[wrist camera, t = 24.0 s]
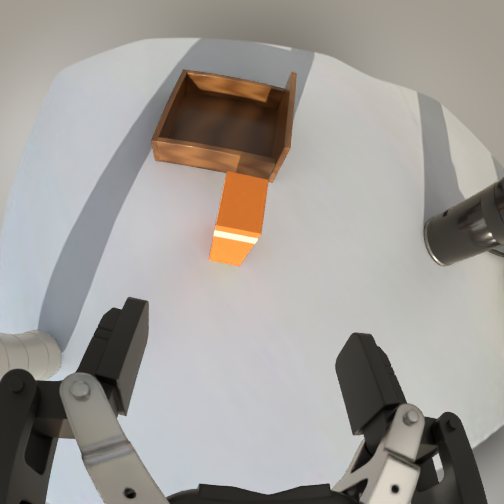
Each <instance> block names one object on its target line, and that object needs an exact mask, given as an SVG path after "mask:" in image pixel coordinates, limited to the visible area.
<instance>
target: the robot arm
mask: <svg viewBox="0 0 504 504" xmlns="http://www.w3.org/2000/svg"><path fill="white" fill-rule="evenodd" d="M424 239H425V244H426V247H427V250H428V252H429V254H430V256H431V257H432V259H433V260H434V261H435V262H436V263H437V264H439V265H441V266H448V265H451V264H453V263H456V262H458V261H462V260H464V259H467V258H470V257H473V256H475V255H478V254H481V253H484V252H486V251H489V252H491V253H493V254H496V255H498V256H501V257H504V253H502V252H499V251H497V250H494V248H497V247H499V246H502V245H504V177H503V178H502V179H500V180H498V181H497V182H495V183H493V184H492V185H490V186H488V187H487V188H485V189H483V190H482V191H480V192H478V193H477V194H475V195H473V196H471V197H470V198H468V199H466V200H465V201H463V202H461V203H459V204H457V205H456V206H454V207H452V208H450V209H449V210H448V209H447V211H445V212H443V213H441V214H439V215H438V216H436V217H433V218H431V219H429V220H428V221H427V223H426V225H425V229H424ZM148 330H149V303H148V301H146V300H141V299H136V298H132V297H128V298H127V300H126V302H125V304H124V307H123V309H117V308H112V309H111V310H109V311H108V312H107V313H106V314H104V315H103V317H102V319H101V321H100V323H99V325H98V328H97V329H96V331H95V333H94V336H93V337H92V339H91V341H90V343H89V345H88V348H87V350H86V352H85V354H84V356H83V358H82V361H81V363H80V365H79V367H78V369H77V371H76V372H75V373H73V374H70V375H69V376H67V377H66V378H65V379H64V380H62V381H41V380H35V379H34V377H33V375H32V374H31V373H30V372H28V371H26V370H24V369H19V368H18V369H12V370H10V371H8V372H7V373H6V374H5V375H4V376H3V377H2V379H1V381H0V504H45V501H46V495H47V489H48V483H49V478H50V473H51V468H52V463H53V459H54V454H55V450H56V446H57V442H58V438H70V439H76V441H77V444H78V446H79V448H80V451H81V454H82V460H83V463H84V465H85V467H86V470H87V472H88V474H89V476H90V478H91V480H92V482H93V484H94V486H95V487H96V489H97V491H98V493H99V495H100V497H101V498H102V500H103V502H104V504H410V503H411V504H487V499H486V495H485V491H484V488H483V484H482V481H481V478H480V474H479V471H478V467H477V464H476V461H475V458H474V455H473V452H472V449H471V446H470V443H469V441H468V438H467V435H466V433H465V430H464V427H463V425H462V422H461V420H460V419H459V417H458V416H457V415H455V414H454V413H451V412H445V413H443V414H442V415H441V416H440V417H439V418H438V419H435V418H430V417H424V415H423V413H422V412H421V410H420V409H419V408H417V407H416V406H415V405H412V404H408V403H407V402H406V399H405V397H404V394H403V392H402V389H401V387H400V385H399V382H398V380H397V377H396V375H394V370H393V368H392V367H391V364H390V361H389V359H388V357H387V355H386V354H385V353H384V352H383V350H382V349H381V348H380V347H379V346H377V345H376V343H375V340H374V338H373V336H372V335H371V334H366V333H352V334H351V336H350V337H349V339H348V341H347V342H346V344H345V345H344V347H343V349H342V350H341V352H340V353H339V355H338V357H337V359H336V364H335V369H336V373H337V377H338V381H339V384H340V388H341V391H342V395H343V399H344V403H345V406H346V410H347V414H348V418H349V422H350V426H351V429H352V433H353V435H362V434H364V439H363V440H362V441H361V443H360V445H359V447H358V449H357V451H356V453H355V455H354V457H353V459H352V461H351V463H350V465H349V467H348V469H347V471H346V472H345V474H344V476H343V477H342V478H341V479H340V480H339V481H338V482H337V483H336V485H335V486H334V487H333V488H332V490H330V484H320V485H309V486H299V487H296V488H293V489H289V490H286V491H282V492H279V493H275V494H270V495H267V494H261V493H257V492H253V491H249V490H245V489H241V488H237V487H232V486H218V485H208V484H199V486H198V488H197V489H191V490H186V491H181V492H178V493H175V494H172V495H170V496H168V497H165V496H164V495H163V493H162V492H161V490H160V489H159V487H158V486H157V484H156V483H155V481H154V480H153V478H152V477H151V475H150V474H149V472H148V471H147V469H146V467H145V466H144V464H143V462H142V461H141V459H140V458H139V456H138V454H137V452H136V451H135V449H134V447H133V446H132V444H131V443H130V441H128V439H127V438H126V436H125V434H124V432H123V430H122V428H121V426H120V424H119V422H118V420H117V416H118V414H120V415H124V416H126V415H127V411H128V407H129V403H130V400H131V396H132V392H133V389H134V385H135V381H136V378H137V374H138V371H139V367H140V364H141V361H142V357H143V354H144V351H145V347H146V344H147V339H148ZM438 453H439V456H440V459H441V462H442V466H443V469H444V478H443V480H442V481H441V482H440V483H439V481H438V478H437V474H436V470H435V466H434V463H433V459H432V457H433V456H435V455H436V454H438Z"/></svg>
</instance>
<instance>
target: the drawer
mask: <svg viewBox="0 0 504 504" xmlns="http://www.w3.org/2000/svg"><path fill="white" fill-rule="evenodd" d="M296 74H297V73H294V72H291V75H290V77H289V80H288V82H287V85H286V87H285V89H283V88H279V87H275V86H271V85H267V84H263V83H259V82H254V81H249V80H245V79H240V78H235V77H229V76H224V75H218V74H212V73H205V72H198V71H191V70H183V71H182V73H181V75H180V77H179V79H178V81H177V83H176V85H175V87H174V90H173V92H172V94H171V96H170V98H169V100H168V103H167V105H166V107H165V109H164V112H163V114H162V116H161V118H160V121H159V123H158V126H157V128H156V130H155V133H154V135H153V138H152V140H151V142H152V147H153V153H154V158H155V161H162V162H168V163H174V164H181V165H186V166H192V167H198V168H203V169H209V170H214V171H219V172H224V173H227V171H229V172H234V173H239V174H244V175H249V176H253V177H258V178H262V179H267V180H268V182H271V183H272V182H273V180H274V178H275V177H276V175H277V173H278V171H279V169H280V167H281V165H282V163H283V161H284V160H285V158H286V156H287V154H288V152H289V150H290V147H291V136H292V125H293V113H294V101H295V88H296Z"/></svg>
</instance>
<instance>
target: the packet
mask: <svg viewBox="0 0 504 504" xmlns="http://www.w3.org/2000/svg"><path fill="white" fill-rule="evenodd" d="M267 188H268V180H267V179H262V178H258V177H253V176H249V175H244V174H239V173H234V172H229V171H227V174H226V177H225V181H224V185H223V190H222V195H221V200H220V205H219V210H218V215H217V220H216V225H215V230H214V237H213V242H212V247H211V252H210V258H209V260H210V261H216V262H221V263H227V264H232V265H237V266H240V264H241V263H242V261H243V260H244V258H245V257H246V255H247V254H248V253H249V251H250V250H251V248H252V247H253V245H254V244H255V243H256V242H257V241H258V239H259V236H260V235H261V231H262V224H263V217H264V210H265V202H266V195H267Z"/></svg>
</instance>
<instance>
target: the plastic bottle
mask: <svg viewBox="0 0 504 504" xmlns="http://www.w3.org/2000/svg"><path fill="white" fill-rule="evenodd" d="M61 361H62V354H61V349H60V347H59V345H58V343H57V341H56V340H55V339H54V338H53V337H52V336H51V335H50V334H48V333H46V332H43V331H40V330H32V331H28V332H25V333H22V334H14V335H12V334H5V333H0V381H1V379H2V377H3V376H4V375H5V374H6V373H7V372H8V371H10V370H12V369H18V368H19V369H24V370H26V371H28V372H30V373H31V374H32V375H33V377H34V379H35V380H46V379H49V378H50V377H52V376H53V375H54V374H56V373H57V372H58V370H59V368H60V366H61Z"/></svg>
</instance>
